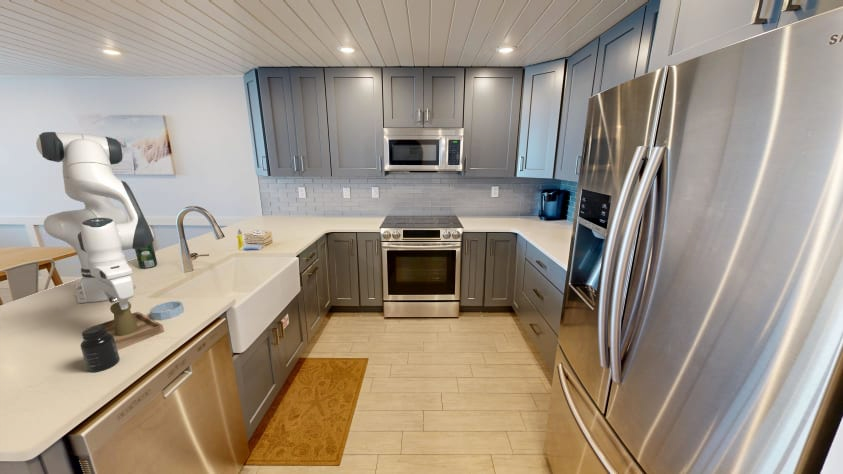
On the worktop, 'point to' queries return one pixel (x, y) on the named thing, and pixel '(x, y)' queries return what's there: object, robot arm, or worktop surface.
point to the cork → (123, 320)
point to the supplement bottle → (99, 349)
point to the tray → (144, 331)
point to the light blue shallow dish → (176, 310)
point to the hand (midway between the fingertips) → (118, 305)
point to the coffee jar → (146, 257)
